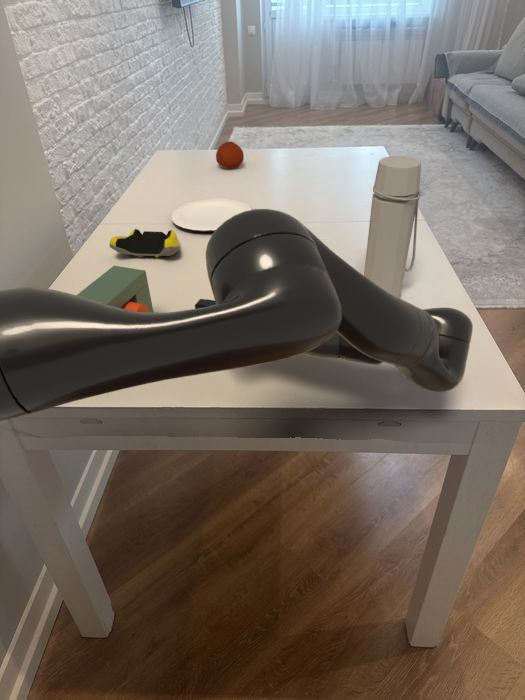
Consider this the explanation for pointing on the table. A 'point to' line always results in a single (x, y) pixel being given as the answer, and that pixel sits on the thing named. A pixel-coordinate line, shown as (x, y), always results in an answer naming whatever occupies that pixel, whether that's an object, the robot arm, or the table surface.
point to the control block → (120, 288)
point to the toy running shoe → (146, 243)
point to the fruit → (229, 155)
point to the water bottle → (392, 221)
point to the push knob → (135, 307)
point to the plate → (207, 213)
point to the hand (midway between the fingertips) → (197, 307)
